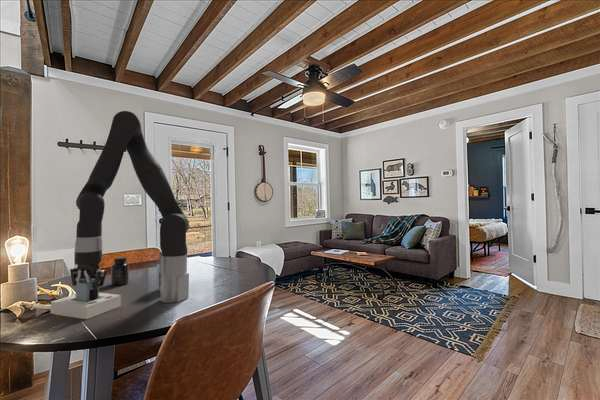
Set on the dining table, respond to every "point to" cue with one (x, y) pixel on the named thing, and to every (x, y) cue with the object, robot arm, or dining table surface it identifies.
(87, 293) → the plug block
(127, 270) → the supplement bottle
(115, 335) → the dining table surface
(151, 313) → the dining table surface
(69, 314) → the socket plate
